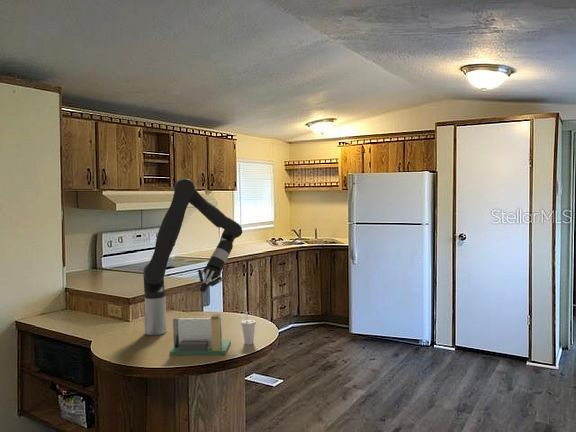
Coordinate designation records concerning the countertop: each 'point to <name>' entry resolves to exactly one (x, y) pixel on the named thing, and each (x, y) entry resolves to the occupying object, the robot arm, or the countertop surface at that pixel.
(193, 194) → the robot arm
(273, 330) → the countertop surface
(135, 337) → the countertop surface
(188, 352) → the bracket
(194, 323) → the white upright panel
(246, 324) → the smoothie
